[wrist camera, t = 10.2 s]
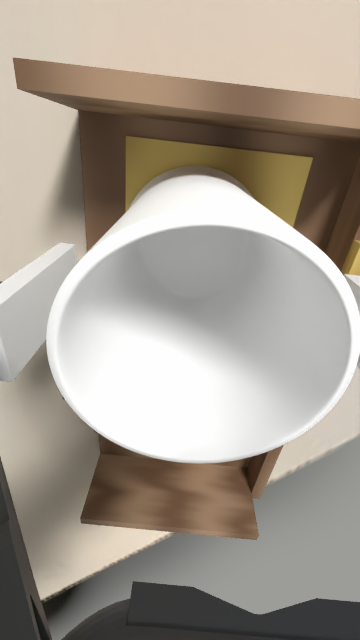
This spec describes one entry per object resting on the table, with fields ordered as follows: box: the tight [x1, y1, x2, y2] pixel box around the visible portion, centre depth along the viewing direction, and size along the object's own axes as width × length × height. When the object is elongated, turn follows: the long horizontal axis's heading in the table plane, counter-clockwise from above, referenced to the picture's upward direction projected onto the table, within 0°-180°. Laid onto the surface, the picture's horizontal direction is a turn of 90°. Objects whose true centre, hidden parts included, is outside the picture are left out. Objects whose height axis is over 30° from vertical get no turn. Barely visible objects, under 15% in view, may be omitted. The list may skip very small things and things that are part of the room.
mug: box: [46, 166, 360, 463], centre depth 13 cm, size 12×8×12 cm
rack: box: [13, 58, 360, 540], centre depth 20 cm, size 16×30×7 cm, turn 174°
